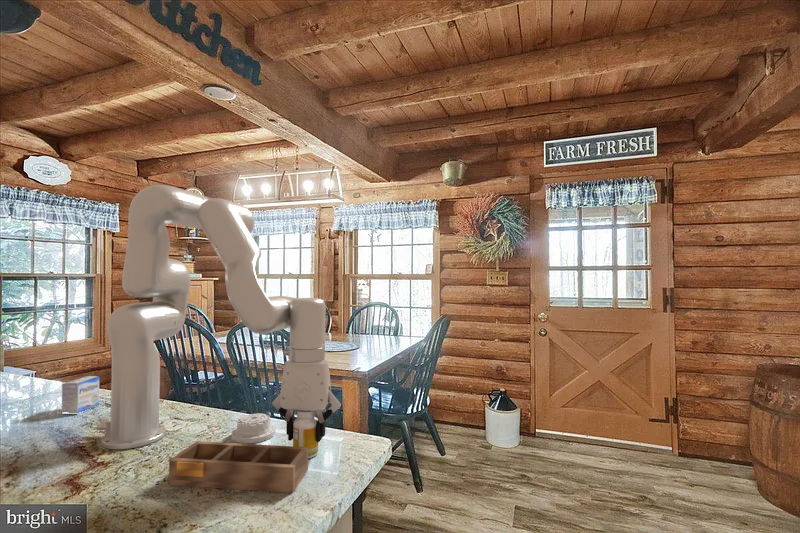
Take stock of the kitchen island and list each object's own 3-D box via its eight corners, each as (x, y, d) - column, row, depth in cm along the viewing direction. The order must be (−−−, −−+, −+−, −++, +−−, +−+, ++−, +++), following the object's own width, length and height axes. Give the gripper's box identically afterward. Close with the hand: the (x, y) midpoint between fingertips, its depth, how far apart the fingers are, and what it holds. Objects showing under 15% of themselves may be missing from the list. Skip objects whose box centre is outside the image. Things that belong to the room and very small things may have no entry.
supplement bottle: (321, 450, 90) (322, 406, 90) (312, 461, 84) (313, 414, 85) (299, 447, 91) (299, 404, 91) (288, 458, 85) (289, 412, 85)
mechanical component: (222, 442, 93) (261, 446, 91) (222, 423, 93) (261, 427, 91) (246, 426, 103) (282, 430, 101) (247, 409, 103) (283, 412, 101)
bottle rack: (167, 486, 74) (167, 461, 74) (196, 463, 83) (196, 441, 83) (292, 494, 72) (292, 468, 72) (308, 469, 80) (308, 447, 81)
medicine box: (77, 415, 109) (78, 383, 109) (60, 415, 109) (61, 383, 109) (99, 405, 117) (100, 375, 117) (84, 405, 117) (84, 375, 117)
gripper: (261, 357, 85) (260, 443, 85) (341, 359, 83) (340, 448, 83) (276, 350, 92) (274, 430, 92) (349, 352, 91) (348, 433, 90)
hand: (305, 437), depth 87 cm, fingers closed on supplement bottle, 5 cm apart
